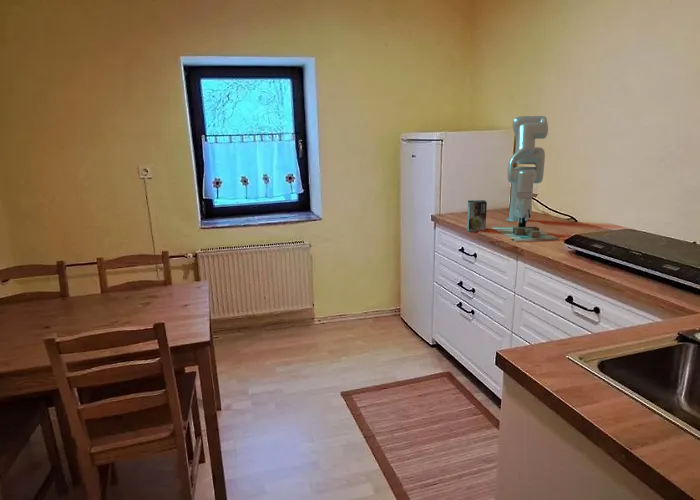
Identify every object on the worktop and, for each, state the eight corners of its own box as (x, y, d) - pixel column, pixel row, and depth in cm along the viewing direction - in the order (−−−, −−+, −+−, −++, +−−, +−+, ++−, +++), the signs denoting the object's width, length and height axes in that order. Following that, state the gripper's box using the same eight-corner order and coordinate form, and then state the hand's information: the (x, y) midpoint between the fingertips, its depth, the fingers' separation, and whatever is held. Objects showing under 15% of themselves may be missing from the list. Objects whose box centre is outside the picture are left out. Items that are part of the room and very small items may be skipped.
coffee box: (483, 229, 246) (485, 200, 242) (485, 231, 240) (487, 201, 236) (466, 229, 247) (467, 200, 243) (468, 231, 241) (469, 201, 237)
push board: (490, 229, 246) (490, 227, 246) (528, 227, 248) (529, 225, 248) (515, 242, 217) (515, 239, 217) (558, 240, 219) (558, 238, 219)
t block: (512, 233, 231) (513, 227, 231) (534, 232, 233) (535, 226, 232) (524, 238, 220) (524, 232, 219) (547, 237, 221) (547, 231, 220)
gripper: (511, 193, 236) (508, 227, 240) (524, 197, 221) (521, 233, 226) (524, 192, 236) (521, 227, 241) (539, 196, 222) (535, 233, 227)
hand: (521, 230), depth 234 cm, fingers closed
